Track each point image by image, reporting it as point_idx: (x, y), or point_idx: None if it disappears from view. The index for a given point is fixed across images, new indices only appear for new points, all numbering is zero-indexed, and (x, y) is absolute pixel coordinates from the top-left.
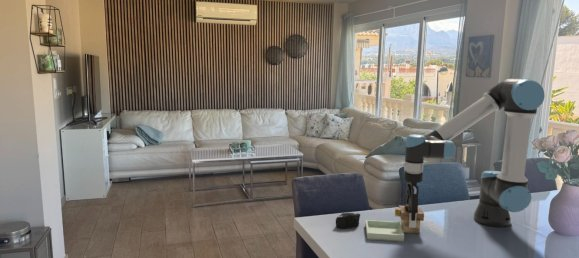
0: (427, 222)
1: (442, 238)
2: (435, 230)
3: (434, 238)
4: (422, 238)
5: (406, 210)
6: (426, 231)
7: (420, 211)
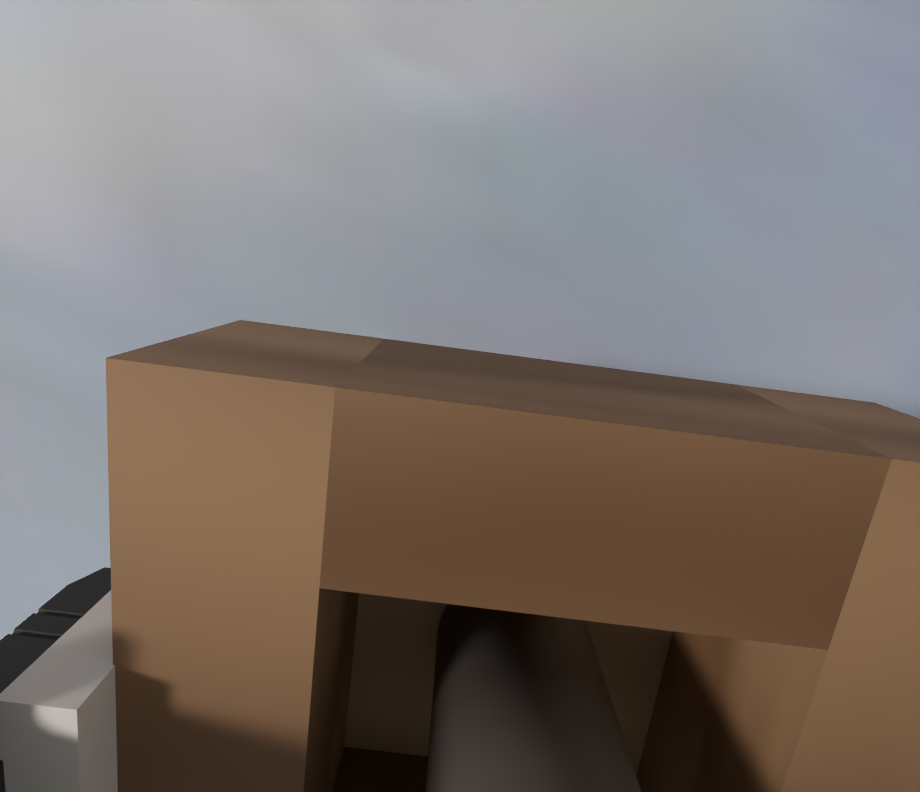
0: (101, 43)
1: (895, 22)
2: (513, 21)
3: (873, 184)
4: (844, 392)
5: (321, 786)
6: (560, 225)
7: (777, 544)
